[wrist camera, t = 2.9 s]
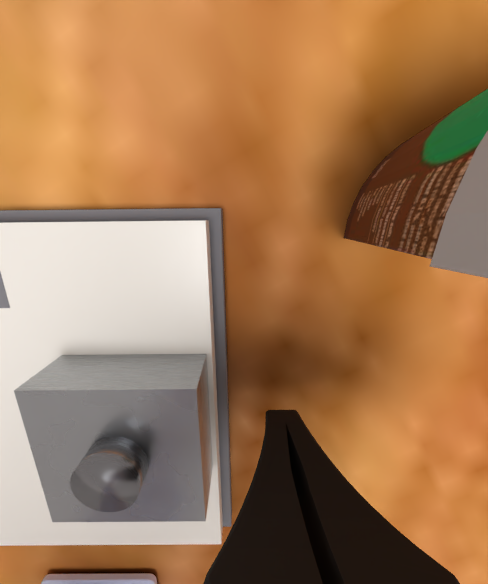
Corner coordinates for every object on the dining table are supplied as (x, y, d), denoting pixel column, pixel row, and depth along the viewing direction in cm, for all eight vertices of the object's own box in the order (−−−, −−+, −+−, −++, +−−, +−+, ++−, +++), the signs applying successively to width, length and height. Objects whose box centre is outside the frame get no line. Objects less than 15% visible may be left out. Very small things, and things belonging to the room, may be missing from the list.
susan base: (231, 512, 17) (231, 526, 16) (-56, 514, 17) (-71, 528, 16) (222, 208, 12) (220, 208, 11) (-191, 213, 12) (-221, 212, 11)
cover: (212, 466, 13) (202, 550, 10) (87, 467, 13) (33, 551, 10) (206, 353, 12) (190, 409, 8) (61, 354, 12) (-14, 410, 8)
